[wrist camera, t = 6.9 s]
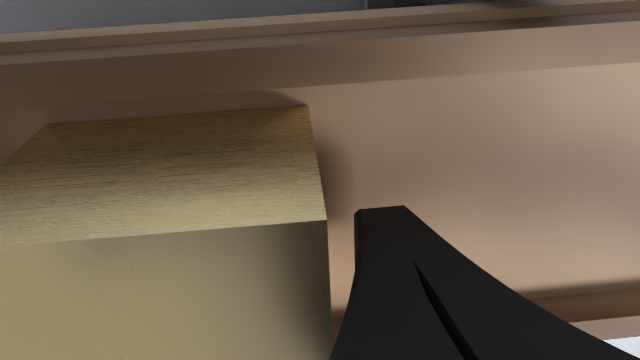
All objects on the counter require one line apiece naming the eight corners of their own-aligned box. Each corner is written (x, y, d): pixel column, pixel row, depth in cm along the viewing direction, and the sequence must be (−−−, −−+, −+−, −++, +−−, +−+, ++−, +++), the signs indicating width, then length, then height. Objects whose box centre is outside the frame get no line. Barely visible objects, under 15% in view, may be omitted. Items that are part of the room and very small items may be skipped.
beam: (913, 261, 16) (1033, 324, 13) (39, 347, 14) (-10, 436, 12) (1120, -40, 11) (1357, -30, 9) (-104, 40, 10) (-230, 79, 7)
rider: (320, 299, 13) (338, 466, 9) (113, 317, 13) (37, 497, 9) (308, 105, 10) (326, 219, 6) (46, 123, 10) (-106, 255, 6)
